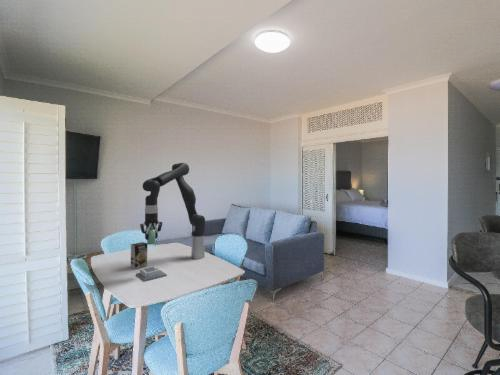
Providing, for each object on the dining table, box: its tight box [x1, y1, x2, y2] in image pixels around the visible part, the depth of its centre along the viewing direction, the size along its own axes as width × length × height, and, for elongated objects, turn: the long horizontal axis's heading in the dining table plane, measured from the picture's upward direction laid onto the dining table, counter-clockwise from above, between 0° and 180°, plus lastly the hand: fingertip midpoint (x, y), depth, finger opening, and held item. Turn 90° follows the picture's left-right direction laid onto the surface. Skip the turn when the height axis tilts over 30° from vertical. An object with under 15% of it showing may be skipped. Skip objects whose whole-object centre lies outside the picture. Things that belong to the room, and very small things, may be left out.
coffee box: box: [130, 241, 148, 270], centre depth 183 cm, size 9×6×16 cm
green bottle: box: [146, 226, 156, 245], centre depth 167 cm, size 5×5×12 cm
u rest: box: [135, 265, 168, 282], centre depth 168 cm, size 14×14×4 cm
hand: (151, 239), depth 167 cm, fingers closed on green bottle, 4 cm apart
